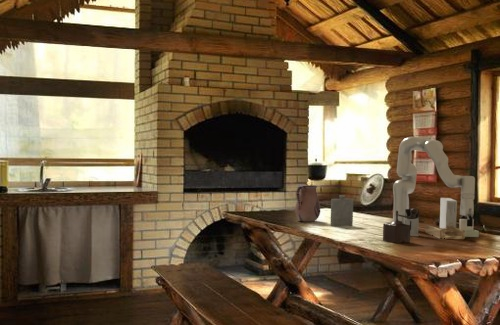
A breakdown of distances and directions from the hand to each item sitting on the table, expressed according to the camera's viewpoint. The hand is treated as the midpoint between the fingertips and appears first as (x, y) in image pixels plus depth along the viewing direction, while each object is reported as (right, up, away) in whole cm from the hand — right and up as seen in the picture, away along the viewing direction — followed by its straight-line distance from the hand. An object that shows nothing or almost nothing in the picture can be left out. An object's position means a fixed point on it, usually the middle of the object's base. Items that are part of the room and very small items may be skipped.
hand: (466, 225), depth 337 cm
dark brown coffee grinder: (-48, -5, -33) cm, 59 cm away
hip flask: (-69, -4, +34) cm, 77 cm away
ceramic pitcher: (-90, -4, +54) cm, 105 cm away
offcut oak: (-14, -6, -8) cm, 17 cm away
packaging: (-2, -6, +27) cm, 28 cm away
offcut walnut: (-14, -4, -8) cm, 16 cm away
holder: (0, -6, 0) cm, 6 cm away
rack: (-14, -6, -3) cm, 16 cm away
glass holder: (-36, -5, -6) cm, 37 cm away
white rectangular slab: (0, -6, 0) cm, 6 cm away
